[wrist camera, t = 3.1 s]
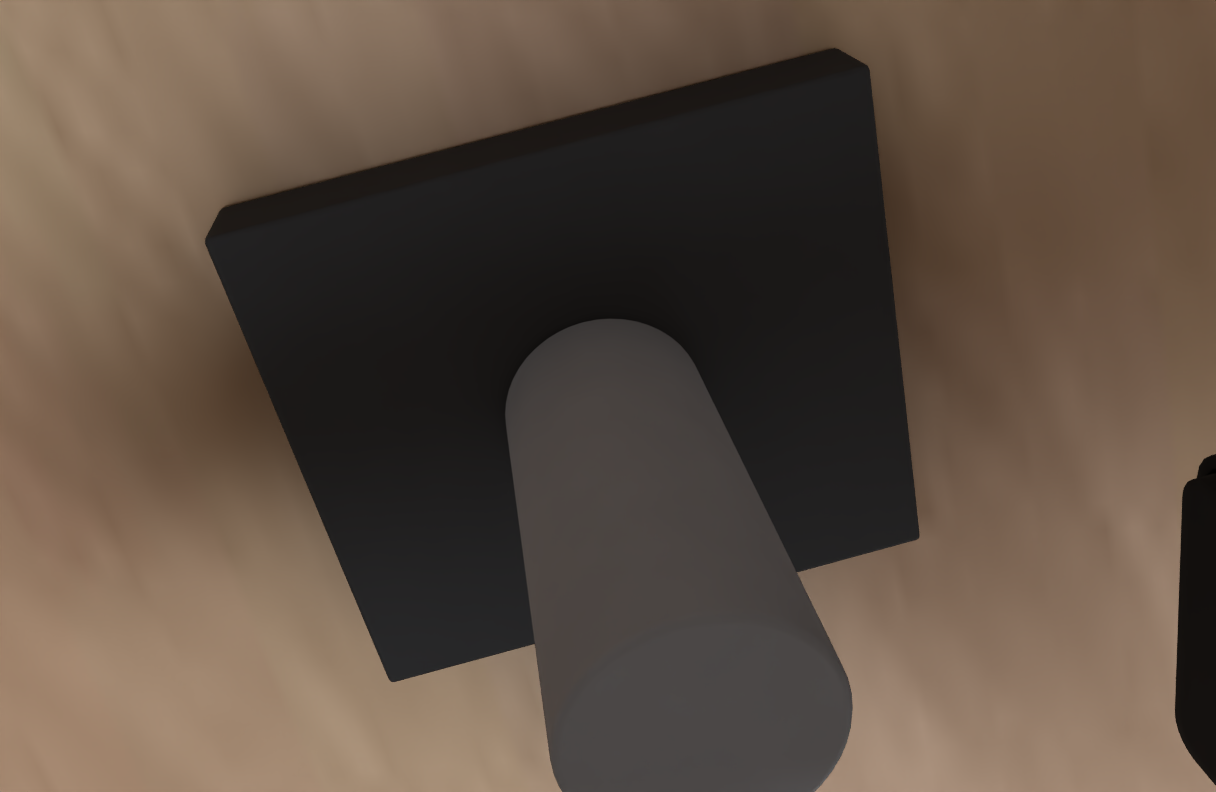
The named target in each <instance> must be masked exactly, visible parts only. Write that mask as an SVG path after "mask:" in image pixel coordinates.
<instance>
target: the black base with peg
mask: <svg viewBox="0 0 1216 792" xmlns="http://www.w3.org/2000/svg"><path fill="white" fill-rule="evenodd" d="M205 244H206V247H207V249H208V251H209V254H210V256H211V258H212V261H213V263H214V266H215V268H216V270H217V273H218V275H219V277H220V280H221V282H222V285H223V287H224V289H225V292H226V294H227V296H228V299H229V301H230V303H231V306H232V308H233V311H234V313H235V315H236V318H237V320H238V322H239V325H240V327H241V330H242V332H243V334H244V337H245V339H246V341H247V344H248V346H249V349H250V351H251V353H252V356H253V358H254V360H255V363H256V365H257V368H258V370H259V372H260V375H261V377H262V379H263V382H264V384H265V387H266V389H267V391H268V394H269V396H270V398H271V401H272V403H273V406H274V408H275V410H276V413H277V415H278V417H279V420H280V422H281V425H282V427H283V429H284V432H285V434H286V436H287V439H288V441H289V444H290V446H291V448H292V451H293V453H294V455H295V458H296V460H297V462H298V465H299V467H300V470H301V472H302V474H303V477H304V479H305V481H306V484H307V486H308V489H309V491H310V493H311V496H312V498H313V500H314V503H315V505H316V508H317V510H318V512H319V515H320V517H321V519H322V522H323V524H324V527H325V529H326V531H327V534H328V536H329V538H330V541H331V543H332V546H333V548H334V550H335V553H336V555H337V557H338V560H339V562H340V565H341V567H342V569H343V572H344V574H345V576H346V579H347V581H348V584H349V586H350V588H351V591H352V593H353V595H354V598H355V600H356V603H357V605H358V607H359V610H360V612H361V614H362V617H363V619H364V621H365V624H366V626H367V629H368V631H369V633H370V636H371V638H372V640H373V643H374V645H375V648H376V650H377V652H378V655H379V657H380V659H381V662H382V664H383V667H384V669H385V671H386V674H387V676H388V678H389V680H390V681H391V682H396V681H400V680H404V679H407V678H411V677H415V676H418V675H422V674H426V673H429V672H433V671H437V670H440V669H444V668H448V667H451V666H455V665H459V664H462V663H466V662H470V661H473V660H477V659H481V658H484V657H488V656H492V655H495V654H499V653H503V652H506V651H510V650H514V649H517V648H521V647H525V646H528V645H532V644H535V648H536V656H537V663H538V671H539V679H540V686H541V694H542V701H543V709H544V716H545V724H546V731H547V739H548V747H549V754H550V761H551V765H552V769H553V773H554V776H555V778H556V780H557V783H558V785H559V787H560V789H561V790H562V792H815V791H816V790H817V789H818V788H819V787H820V786H821V785H822V783H823V782H824V781H825V779H826V778H827V777H828V776H829V774H830V773H831V772H832V770H833V769H834V767H835V765H836V764H837V762H838V760H839V759H840V757H841V755H842V752H843V750H844V748H845V745H846V743H847V739H848V736H849V732H850V728H851V718H852V708H853V707H852V693H851V689H850V685H849V681H848V677H847V675H846V673H845V671H844V668H843V666H842V664H841V662H840V660H839V658H838V656H837V654H836V652H835V650H834V648H833V646H832V644H831V642H830V640H829V637H828V635H827V633H826V631H825V629H824V627H823V625H822V623H821V621H820V619H819V617H818V615H817V613H816V611H815V609H814V607H813V605H812V603H811V601H810V599H809V597H808V595H807V593H806V591H805V589H804V586H803V584H802V582H801V580H800V578H799V576H798V574H797V572H800V571H804V570H807V569H811V568H815V567H818V566H822V565H826V564H829V563H833V562H837V561H840V560H844V559H848V558H851V557H855V556H859V555H862V554H866V553H870V552H873V551H877V550H881V549H884V548H888V547H892V546H895V545H899V544H903V543H906V542H910V541H914V540H917V539H918V538H919V525H918V516H917V507H916V497H915V488H914V479H913V469H912V460H911V451H910V442H909V432H908V423H907V414H906V404H905V395H904V386H903V377H902V367H901V358H900V349H899V339H898V330H897V321H896V312H895V302H894V293H893V284H892V274H891V265H890V256H889V246H888V237H887V228H886V219H885V209H884V200H883V191H882V181H881V172H880V163H879V154H878V144H877V135H876V126H875V116H874V107H873V98H872V89H871V79H870V70H869V68H868V66H867V65H866V64H864V63H862V62H860V61H859V60H857V59H855V58H853V57H851V56H850V55H848V54H846V53H844V52H843V51H841V50H839V49H835V48H833V49H829V50H826V51H822V52H818V53H814V54H810V55H806V56H803V57H799V58H795V59H791V60H787V61H783V62H780V63H776V64H772V65H768V66H764V67H761V68H757V69H753V70H749V71H745V72H741V73H738V74H734V75H730V76H726V77H722V78H718V79H715V80H711V81H707V82H703V83H699V84H696V85H692V86H688V87H684V88H680V89H676V90H673V91H669V92H665V93H661V94H657V95H653V96H650V97H646V98H642V99H638V100H634V101H630V102H627V103H623V104H619V105H615V106H611V107H608V108H604V109H600V110H596V111H592V112H588V113H585V114H581V115H577V116H573V117H569V118H565V119H562V120H558V121H554V122H550V123H546V124H543V125H539V126H535V127H531V128H527V129H523V130H520V131H516V132H512V133H508V134H504V135H500V136H497V137H493V138H489V139H485V140H481V141H477V142H474V143H470V144H466V145H462V146H458V147H455V148H451V149H447V150H443V151H439V152H435V153H432V154H428V155H424V156H420V157H416V158H412V159H409V160H405V161H401V162H397V163H393V164H389V165H386V166H382V167H378V168H374V169H370V170H367V171H363V172H359V173H355V174H351V175H347V176H344V177H340V178H336V179H332V180H328V181H324V182H321V183H317V184H313V185H309V186H305V187H302V188H298V189H294V190H290V191H286V192H282V193H279V194H275V195H271V196H267V197H263V198H259V199H256V200H252V201H248V202H244V203H240V204H236V205H233V206H229V207H225V208H223V209H221V210H220V211H219V213H218V215H217V217H216V219H215V221H214V223H213V225H212V227H211V229H210V231H209V233H208V235H207V236H206V238H205Z"/></svg>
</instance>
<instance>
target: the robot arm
mask: <svg viewBox="0 0 1216 792" xmlns="http://www.w3.org/2000/svg"><path fill="white" fill-rule="evenodd" d="M1175 717H1176V723H1177V727H1178V731H1179V733H1180V736H1181V738H1182V741H1183V743H1184V744H1185V746H1186V748H1187V750H1188V752H1189V753H1190V754H1191V756H1192V757H1193V759H1194V760H1195V761H1196V762H1197V764H1198V765H1199V766H1200V767H1201V768H1202V770H1203V771H1204V772H1205V773H1206V774H1207V776H1208V777H1209V778H1210V779H1211V780H1212V782H1213V783H1214V784H1215V785H1216V454H1214V455H1211V456H1209V457H1207V458H1205V459H1204V460H1203V461H1202V463H1201V465H1200V466H1199V470H1198V475H1197V478H1196V479H1193V480H1191V481H1188V482H1187V484H1186V485H1185V487H1184V490H1183V496H1182V525H1181V554H1180V582H1179V611H1178V640H1177V669H1176V698H1175Z"/></svg>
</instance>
